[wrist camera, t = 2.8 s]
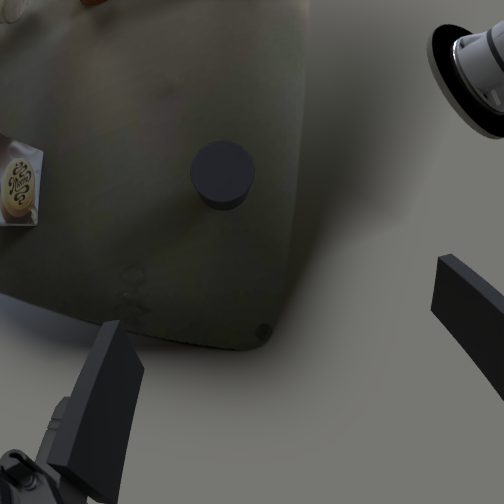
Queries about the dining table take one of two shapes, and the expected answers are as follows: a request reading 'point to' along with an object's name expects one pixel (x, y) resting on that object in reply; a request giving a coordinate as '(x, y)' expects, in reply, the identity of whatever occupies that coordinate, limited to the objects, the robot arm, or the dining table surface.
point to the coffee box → (19, 182)
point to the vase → (11, 10)
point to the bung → (222, 174)
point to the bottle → (91, 2)
